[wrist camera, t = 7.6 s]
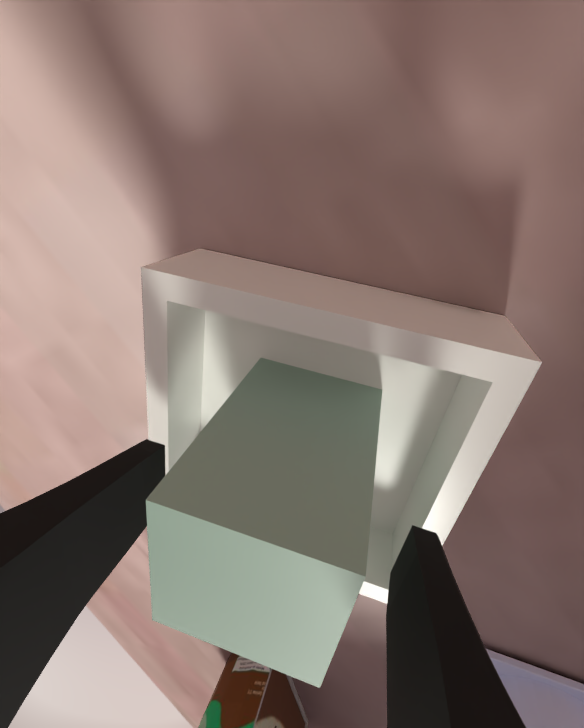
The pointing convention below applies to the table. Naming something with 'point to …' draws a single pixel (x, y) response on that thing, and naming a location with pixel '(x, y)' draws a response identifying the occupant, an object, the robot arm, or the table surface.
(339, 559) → the green block
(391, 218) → the table surface
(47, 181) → the table surface
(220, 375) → the bin
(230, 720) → the food container
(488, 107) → the table surface
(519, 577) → the table surface
